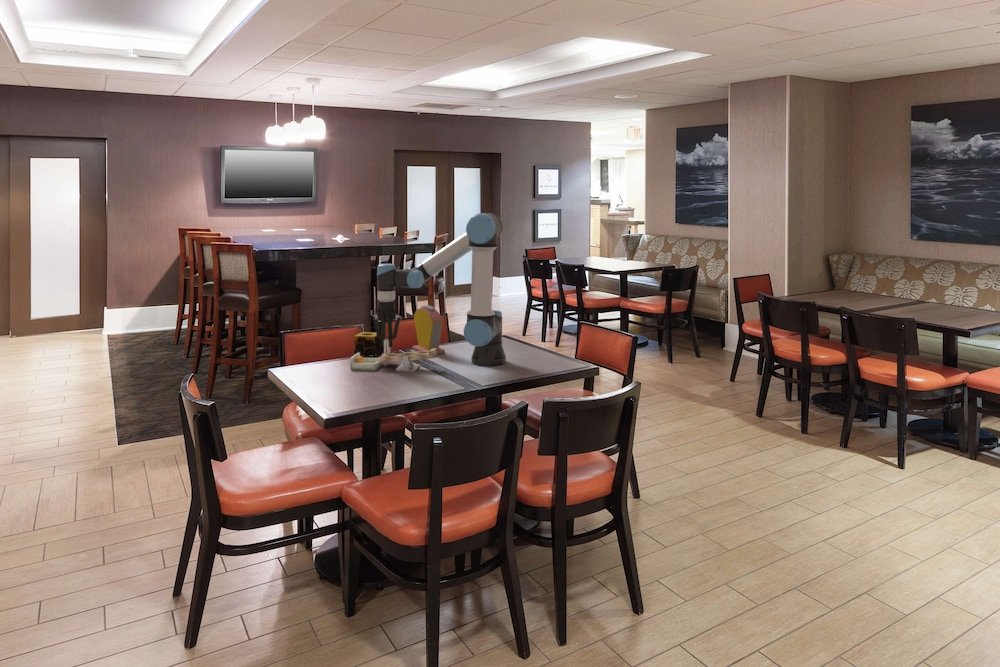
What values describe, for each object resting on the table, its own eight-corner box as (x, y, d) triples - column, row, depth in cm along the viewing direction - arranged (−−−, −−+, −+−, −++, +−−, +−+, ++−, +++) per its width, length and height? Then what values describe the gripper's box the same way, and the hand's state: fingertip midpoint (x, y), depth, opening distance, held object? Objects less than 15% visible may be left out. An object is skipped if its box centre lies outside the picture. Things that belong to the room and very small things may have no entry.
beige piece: (441, 354, 322) (439, 344, 321) (434, 360, 310) (433, 351, 309) (385, 358, 326) (383, 349, 325) (376, 365, 313) (375, 355, 313)
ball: (356, 357, 319) (360, 365, 319) (353, 359, 316) (357, 366, 316) (363, 354, 318) (367, 361, 319) (360, 355, 315) (364, 363, 315)
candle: (375, 358, 334) (374, 336, 332) (353, 357, 336) (353, 335, 334) (383, 353, 343) (382, 332, 342) (362, 352, 345) (361, 331, 344)
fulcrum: (420, 366, 319) (419, 351, 318) (414, 371, 310) (414, 356, 308) (402, 365, 320) (401, 351, 319) (395, 370, 311) (395, 356, 310)
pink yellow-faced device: (447, 354, 341) (447, 308, 337) (429, 357, 336) (428, 309, 332) (427, 346, 360) (426, 302, 356) (409, 348, 355) (408, 303, 351)
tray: (382, 364, 322) (382, 353, 321) (375, 370, 311) (375, 358, 310) (358, 363, 323) (358, 352, 322) (350, 369, 313) (349, 358, 312)
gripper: (404, 299, 321) (404, 353, 325) (373, 298, 322) (374, 351, 327) (399, 302, 313) (400, 357, 318) (368, 301, 315) (369, 355, 320)
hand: (387, 354), depth 322 cm, fingers closed
